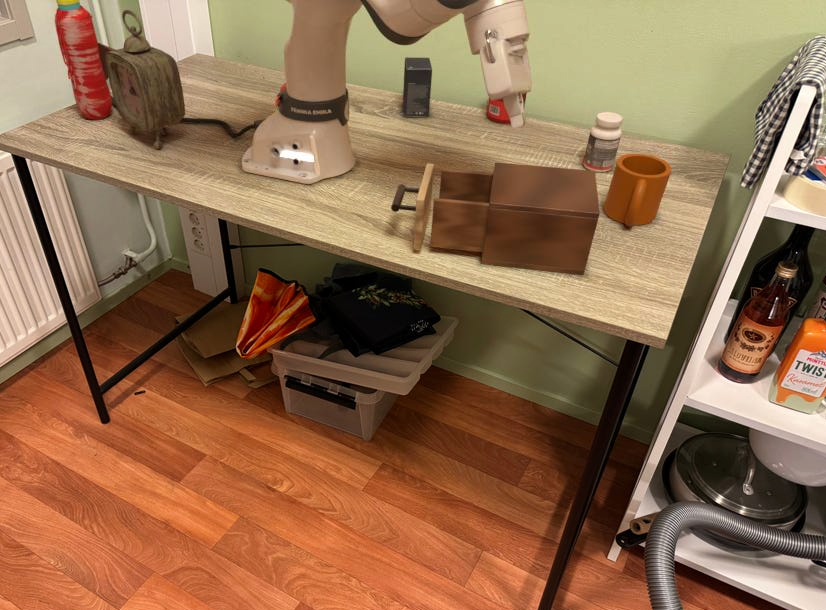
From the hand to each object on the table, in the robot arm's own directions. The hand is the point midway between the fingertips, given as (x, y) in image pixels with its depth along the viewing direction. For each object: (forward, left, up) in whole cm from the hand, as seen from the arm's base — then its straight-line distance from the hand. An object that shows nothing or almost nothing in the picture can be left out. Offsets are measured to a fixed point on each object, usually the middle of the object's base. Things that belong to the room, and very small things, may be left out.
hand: (519, 126), depth 105 cm
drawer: (-9, -6, -17) cm, 20 cm away
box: (-22, +47, -18) cm, 55 cm away
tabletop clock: (-74, +22, -18) cm, 79 cm away
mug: (+21, +7, -18) cm, 28 cm away
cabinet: (+5, -6, -18) cm, 19 cm away
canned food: (-2, +47, -18) cm, 51 cm away
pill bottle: (+17, +26, -18) cm, 36 cm away
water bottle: (-92, +32, -18) cm, 99 cm away
